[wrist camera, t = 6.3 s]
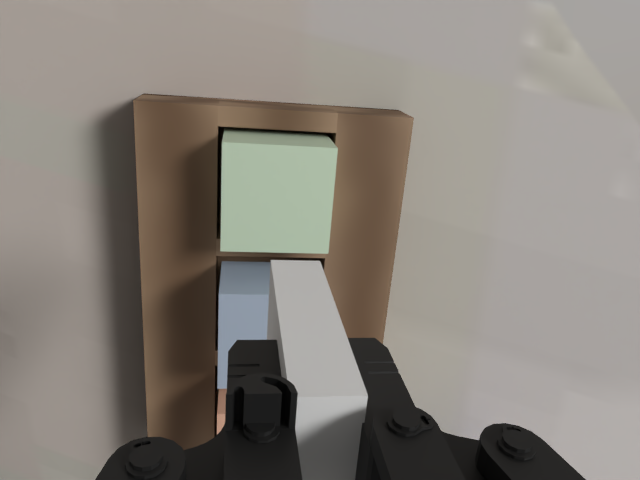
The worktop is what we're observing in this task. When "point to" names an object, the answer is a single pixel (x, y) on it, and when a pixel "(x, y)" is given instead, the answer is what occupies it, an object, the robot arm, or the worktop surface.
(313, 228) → the sage button
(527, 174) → the worktop surface
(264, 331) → the slate button
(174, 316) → the board
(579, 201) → the worktop surface
